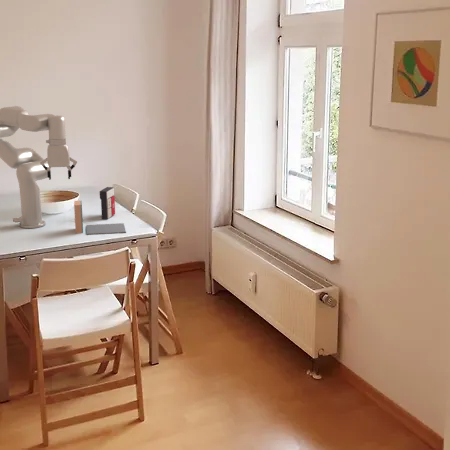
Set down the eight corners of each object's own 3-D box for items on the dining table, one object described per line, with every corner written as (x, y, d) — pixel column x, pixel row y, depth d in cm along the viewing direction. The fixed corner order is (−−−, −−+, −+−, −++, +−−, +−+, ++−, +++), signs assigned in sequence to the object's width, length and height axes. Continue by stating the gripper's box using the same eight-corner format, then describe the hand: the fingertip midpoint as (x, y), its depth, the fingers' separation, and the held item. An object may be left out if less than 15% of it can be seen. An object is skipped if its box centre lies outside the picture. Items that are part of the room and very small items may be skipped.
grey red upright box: (108, 219, 337) (107, 191, 333) (100, 219, 338) (99, 191, 334) (116, 214, 347) (115, 187, 343) (108, 214, 348) (107, 186, 344)
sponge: (75, 233, 312) (74, 205, 308) (75, 228, 320) (74, 200, 317) (83, 233, 313) (81, 204, 309) (83, 228, 321) (81, 200, 317)
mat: (86, 234, 310) (86, 233, 310) (86, 225, 325) (86, 224, 325) (125, 232, 314) (125, 231, 314) (123, 224, 329) (123, 223, 329)
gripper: (37, 144, 298) (40, 181, 303) (76, 143, 302) (78, 179, 306) (38, 141, 305) (41, 177, 310) (76, 140, 309) (78, 176, 313)
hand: (59, 178), depth 308 cm, fingers open, 8 cm apart
